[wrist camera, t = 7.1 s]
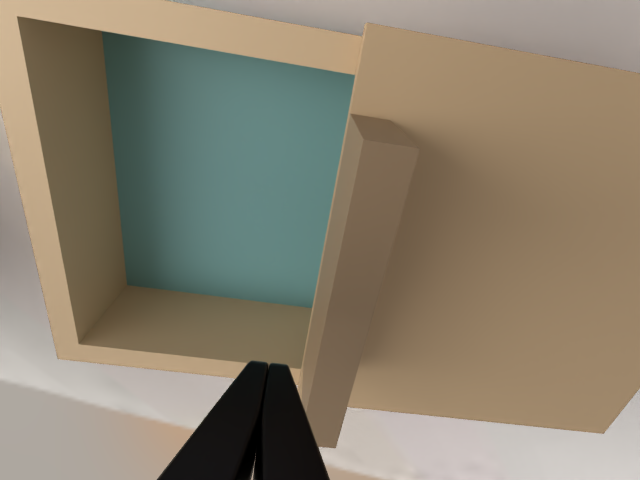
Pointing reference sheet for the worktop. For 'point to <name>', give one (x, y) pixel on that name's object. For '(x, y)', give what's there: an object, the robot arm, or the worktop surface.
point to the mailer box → (174, 176)
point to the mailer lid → (479, 240)
